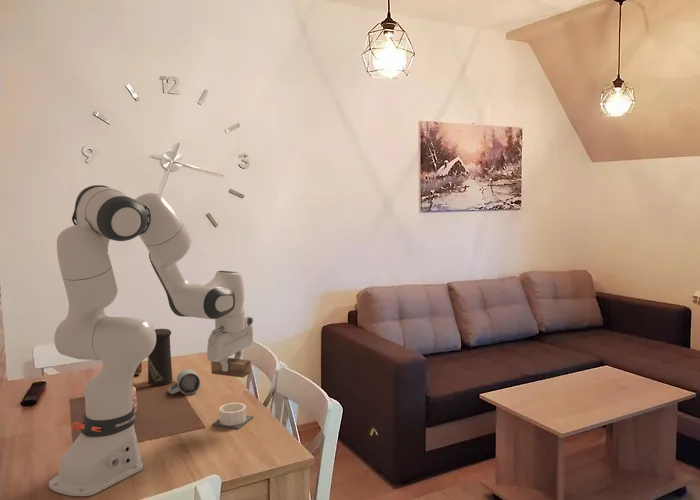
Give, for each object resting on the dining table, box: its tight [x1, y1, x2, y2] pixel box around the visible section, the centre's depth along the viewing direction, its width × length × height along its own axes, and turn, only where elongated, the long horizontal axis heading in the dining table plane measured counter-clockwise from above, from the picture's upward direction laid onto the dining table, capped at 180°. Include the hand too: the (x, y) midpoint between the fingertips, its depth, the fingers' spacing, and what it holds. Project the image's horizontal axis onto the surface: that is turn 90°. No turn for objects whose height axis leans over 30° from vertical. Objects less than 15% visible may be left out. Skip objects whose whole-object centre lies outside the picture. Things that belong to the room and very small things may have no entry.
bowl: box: [218, 402, 247, 426], centre depth 170 cm, size 8×8×4 cm
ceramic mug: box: [168, 368, 201, 396], centre depth 196 cm, size 11×8×8 cm
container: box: [147, 328, 173, 387], centre depth 205 cm, size 9×9×20 cm
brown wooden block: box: [210, 357, 252, 378], centre depth 168 cm, size 4×11×4 cm, turn 70°
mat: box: [211, 415, 254, 430], centre depth 170 cm, size 9×9×1 cm
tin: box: [134, 361, 143, 376], centre depth 217 cm, size 15×3×8 cm, turn 39°
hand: (231, 367), depth 168 cm, fingers closed on brown wooden block, 4 cm apart
